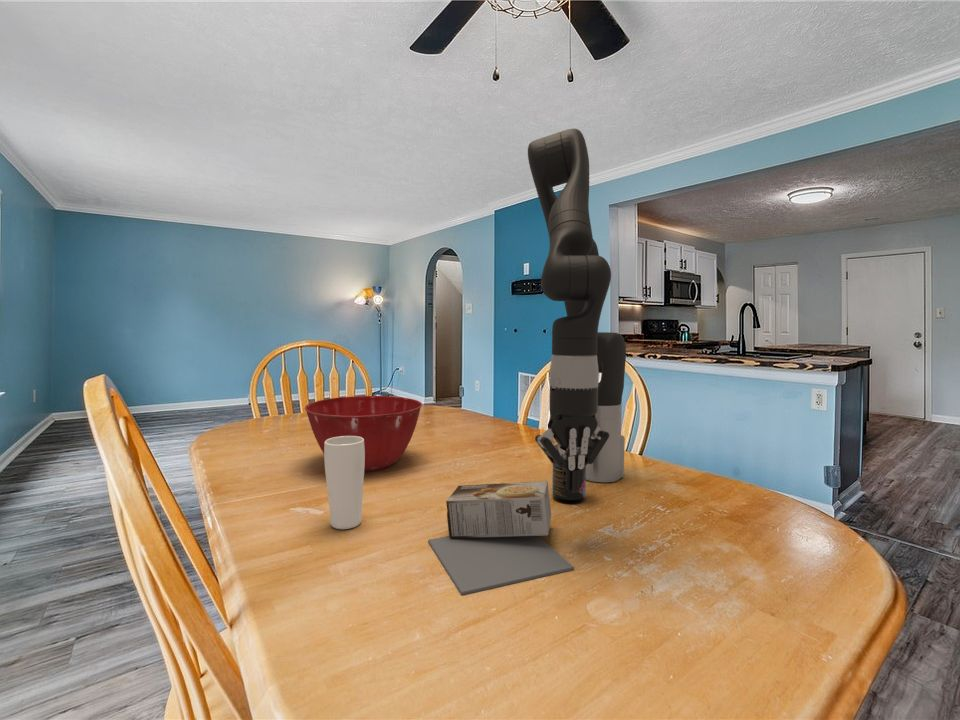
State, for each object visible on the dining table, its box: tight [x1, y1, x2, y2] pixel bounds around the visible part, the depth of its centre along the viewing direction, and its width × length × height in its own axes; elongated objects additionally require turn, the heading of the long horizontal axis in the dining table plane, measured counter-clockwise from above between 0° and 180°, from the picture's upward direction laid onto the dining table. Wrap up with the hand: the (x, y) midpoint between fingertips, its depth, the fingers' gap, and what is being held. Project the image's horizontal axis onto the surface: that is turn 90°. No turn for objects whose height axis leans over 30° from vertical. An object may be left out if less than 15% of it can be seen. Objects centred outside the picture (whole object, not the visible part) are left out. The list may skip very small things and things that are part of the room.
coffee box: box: [445, 480, 552, 538], centre depth 78 cm, size 9×6×16 cm
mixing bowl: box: [304, 395, 423, 473], centre depth 117 cm, size 28×28×15 cm
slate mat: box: [427, 535, 575, 596], centre depth 70 cm, size 17×16×1 cm
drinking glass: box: [323, 436, 365, 530], centre depth 81 cm, size 7×7×15 cm
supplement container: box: [551, 443, 587, 505], centre depth 93 cm, size 7×7×10 cm
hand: (571, 491), depth 74 cm, fingers closed
